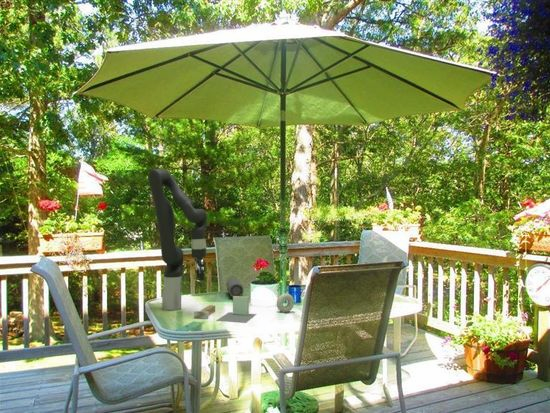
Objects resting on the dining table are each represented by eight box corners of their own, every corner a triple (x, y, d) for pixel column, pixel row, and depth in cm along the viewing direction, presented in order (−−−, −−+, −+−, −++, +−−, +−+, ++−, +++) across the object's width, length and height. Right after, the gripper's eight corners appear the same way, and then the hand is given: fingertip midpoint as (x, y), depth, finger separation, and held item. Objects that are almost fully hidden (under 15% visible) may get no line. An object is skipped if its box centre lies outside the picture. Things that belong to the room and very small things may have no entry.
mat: (215, 321, 222) (215, 320, 222) (228, 313, 240) (228, 312, 240) (245, 324, 219) (245, 322, 219) (256, 315, 236) (256, 314, 236)
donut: (291, 310, 247) (291, 292, 247) (295, 312, 244) (295, 293, 244) (275, 312, 242) (275, 293, 242) (278, 314, 239) (278, 294, 239)
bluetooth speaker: (225, 292, 295) (225, 277, 295) (240, 292, 297) (240, 276, 297) (228, 300, 273) (228, 283, 273) (244, 299, 274) (244, 282, 274)
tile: (232, 314, 235) (232, 296, 235) (233, 313, 237) (233, 296, 237) (247, 315, 233) (248, 297, 233) (248, 314, 235) (248, 296, 235)
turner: (193, 319, 227) (193, 311, 227) (206, 312, 242) (206, 304, 242) (207, 320, 225) (207, 312, 225) (218, 313, 240) (218, 305, 240)
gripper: (189, 247, 246) (190, 278, 246) (194, 249, 232) (195, 281, 232) (203, 246, 248) (204, 276, 248) (209, 248, 235) (210, 280, 235)
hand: (200, 279), depth 240 cm, fingers open, 8 cm apart
